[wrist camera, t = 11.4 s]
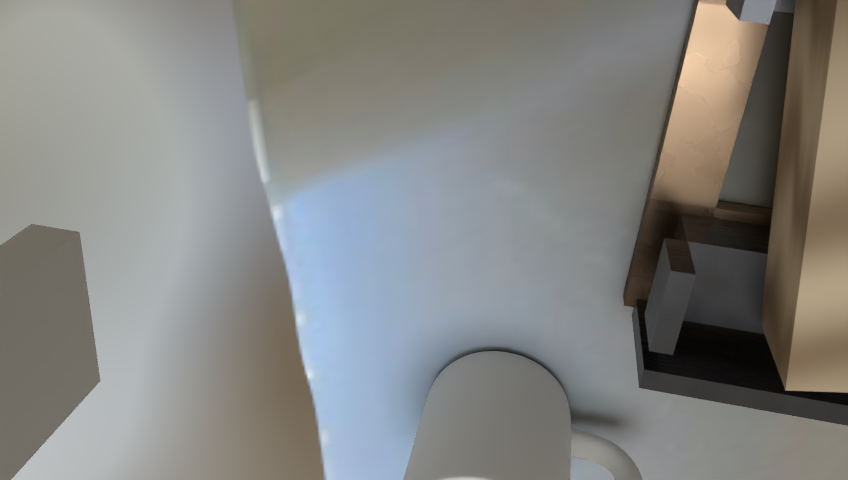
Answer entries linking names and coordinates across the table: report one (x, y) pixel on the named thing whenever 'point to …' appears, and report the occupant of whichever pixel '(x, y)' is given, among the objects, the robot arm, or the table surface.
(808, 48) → the rail
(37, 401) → the robot arm
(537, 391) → the mug
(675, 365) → the brackets
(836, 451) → the table surface
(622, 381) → the table surface
